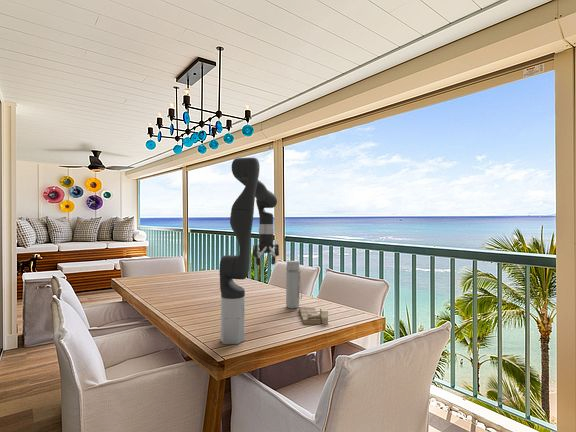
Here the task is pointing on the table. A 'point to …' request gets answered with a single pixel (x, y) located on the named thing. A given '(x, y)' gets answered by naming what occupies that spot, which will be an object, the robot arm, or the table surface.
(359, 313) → the table surface
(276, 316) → the table surface
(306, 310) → the plank
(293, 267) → the water bottle
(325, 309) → the gauge
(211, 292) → the table surface
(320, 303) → the table surface
